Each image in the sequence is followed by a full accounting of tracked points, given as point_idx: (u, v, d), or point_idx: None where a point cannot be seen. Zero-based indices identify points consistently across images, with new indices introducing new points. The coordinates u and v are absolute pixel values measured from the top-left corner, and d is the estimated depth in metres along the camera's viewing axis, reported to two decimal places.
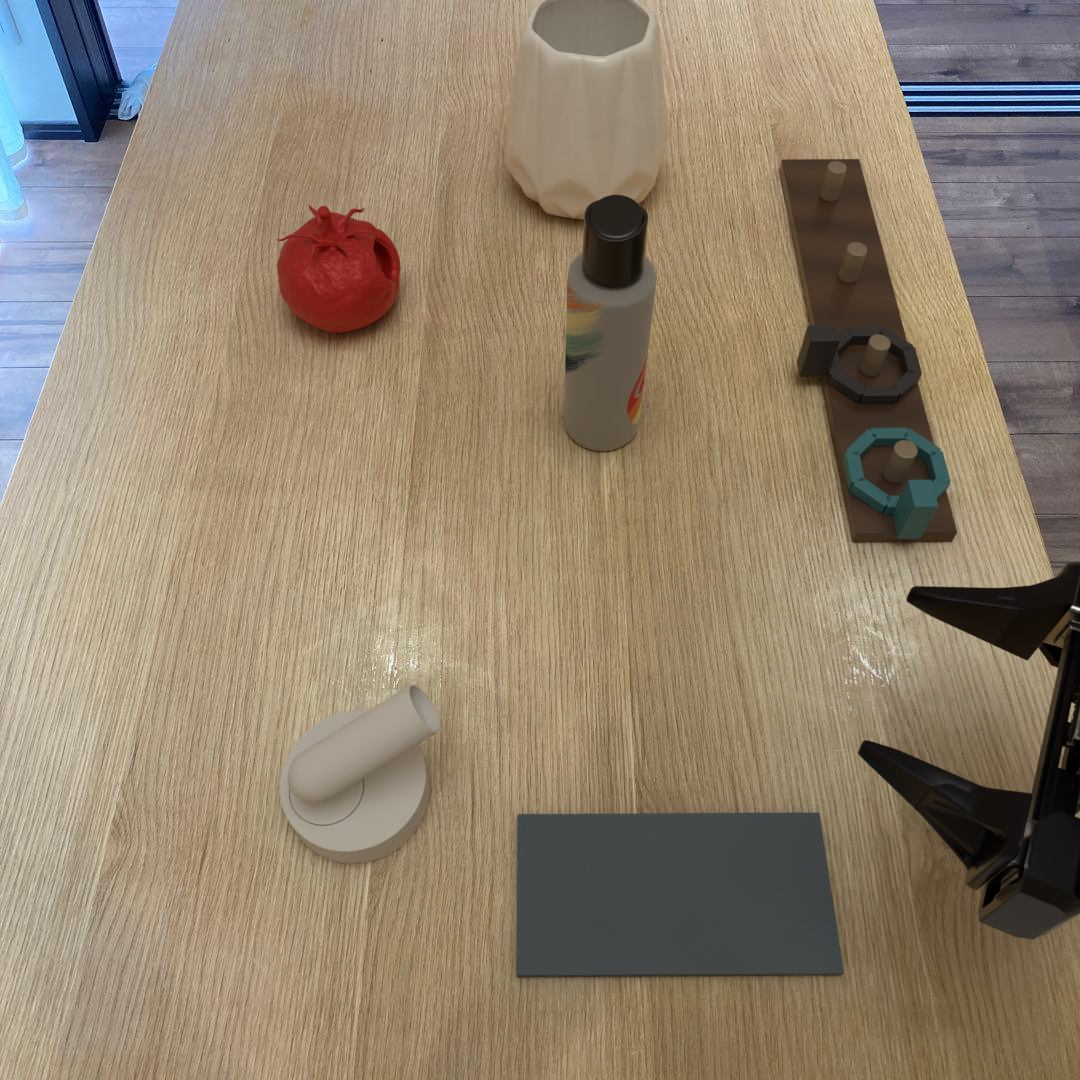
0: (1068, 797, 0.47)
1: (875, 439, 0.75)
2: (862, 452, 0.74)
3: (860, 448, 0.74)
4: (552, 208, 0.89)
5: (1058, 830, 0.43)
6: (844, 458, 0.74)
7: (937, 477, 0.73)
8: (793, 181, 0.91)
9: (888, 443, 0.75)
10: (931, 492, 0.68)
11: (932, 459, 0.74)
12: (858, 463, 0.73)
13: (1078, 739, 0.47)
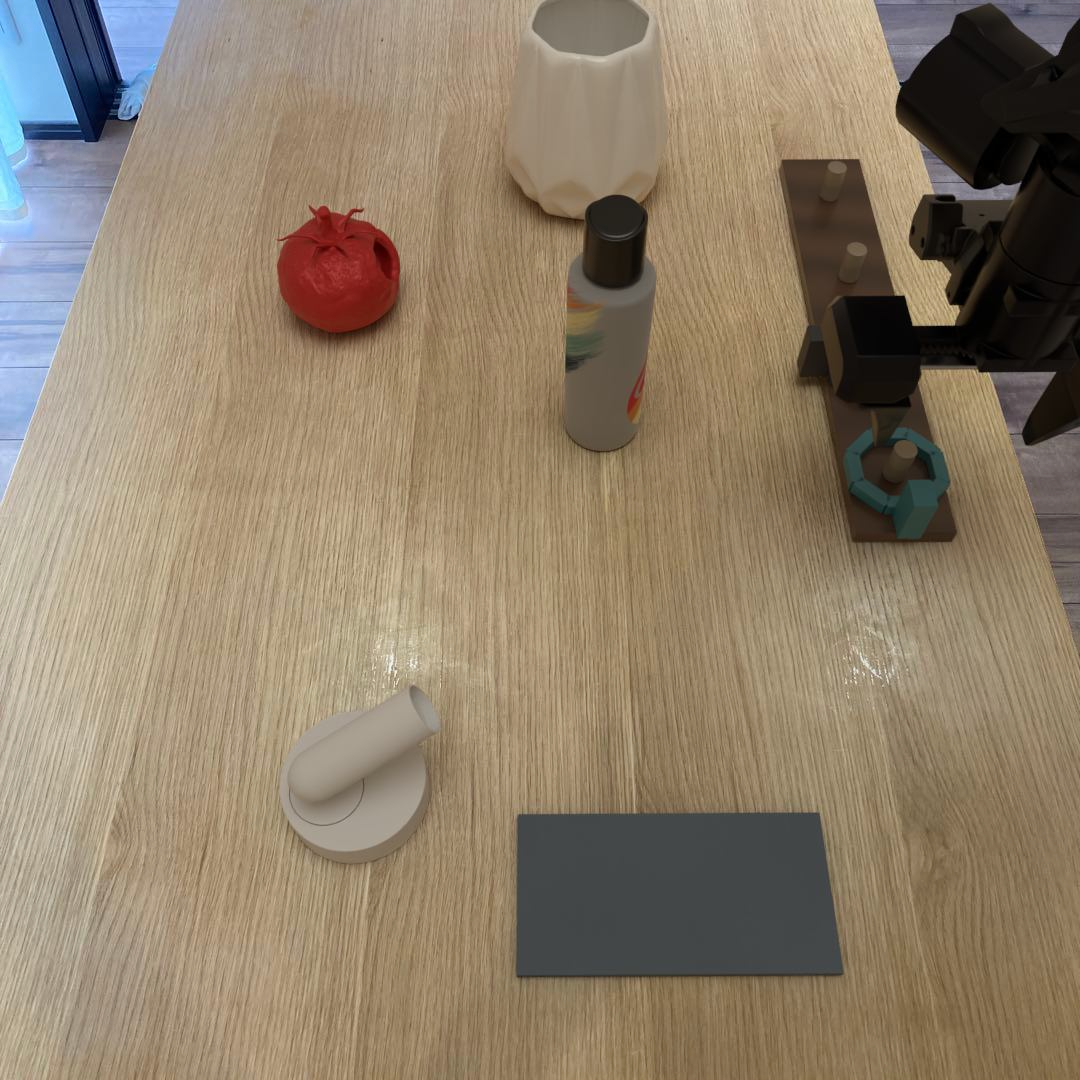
0: None
1: None
2: (862, 452, 0.74)
3: (860, 448, 0.74)
4: (552, 208, 0.89)
5: None
6: (844, 458, 0.74)
7: (937, 477, 0.73)
8: (793, 181, 0.91)
9: (888, 443, 0.75)
10: (931, 492, 0.68)
11: (932, 459, 0.74)
12: (858, 463, 0.73)
13: None
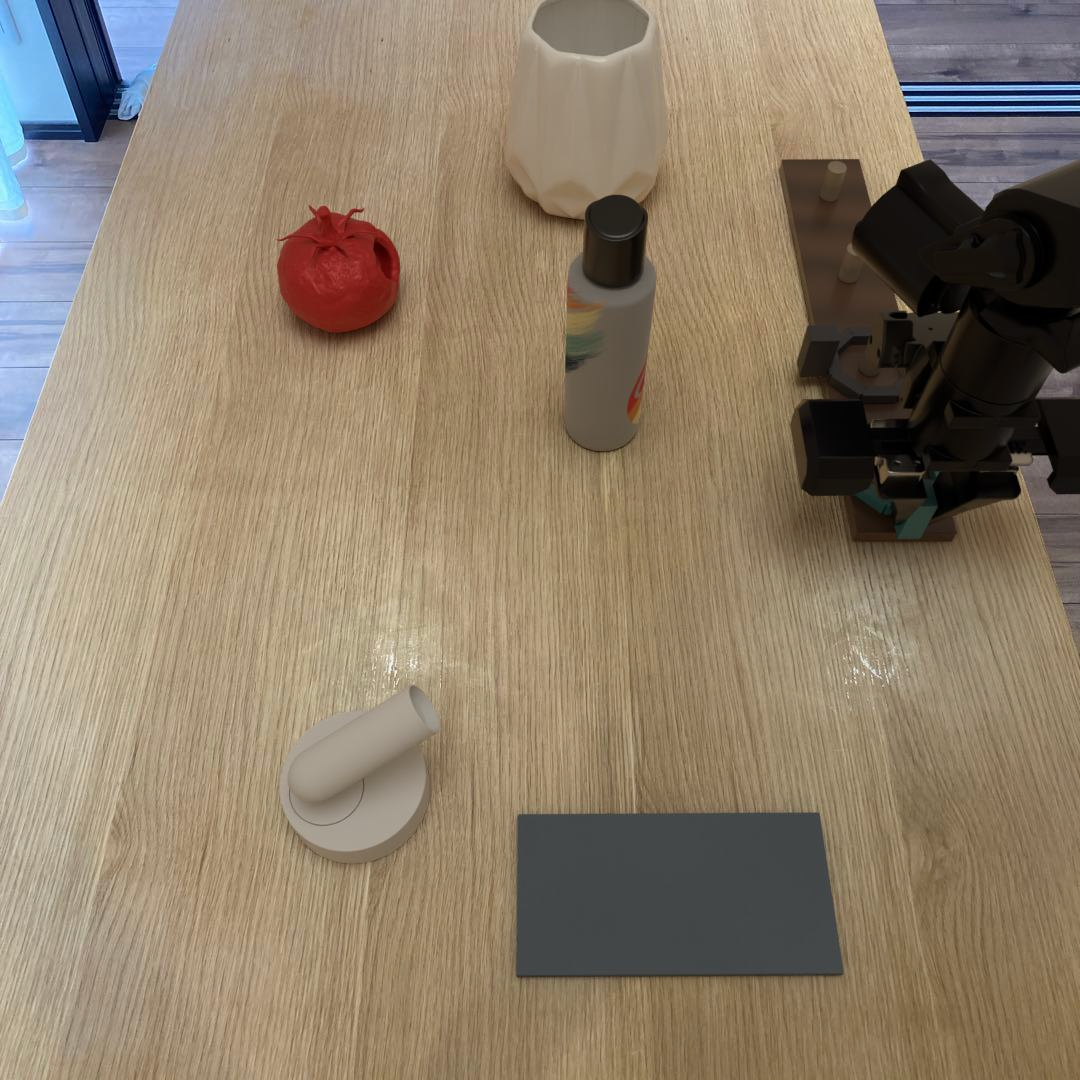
0: None
1: None
2: None
3: None
4: (552, 208, 0.89)
5: None
6: None
7: None
8: (793, 181, 0.91)
9: None
10: (931, 492, 0.68)
11: None
12: None
13: (871, 421, 0.65)
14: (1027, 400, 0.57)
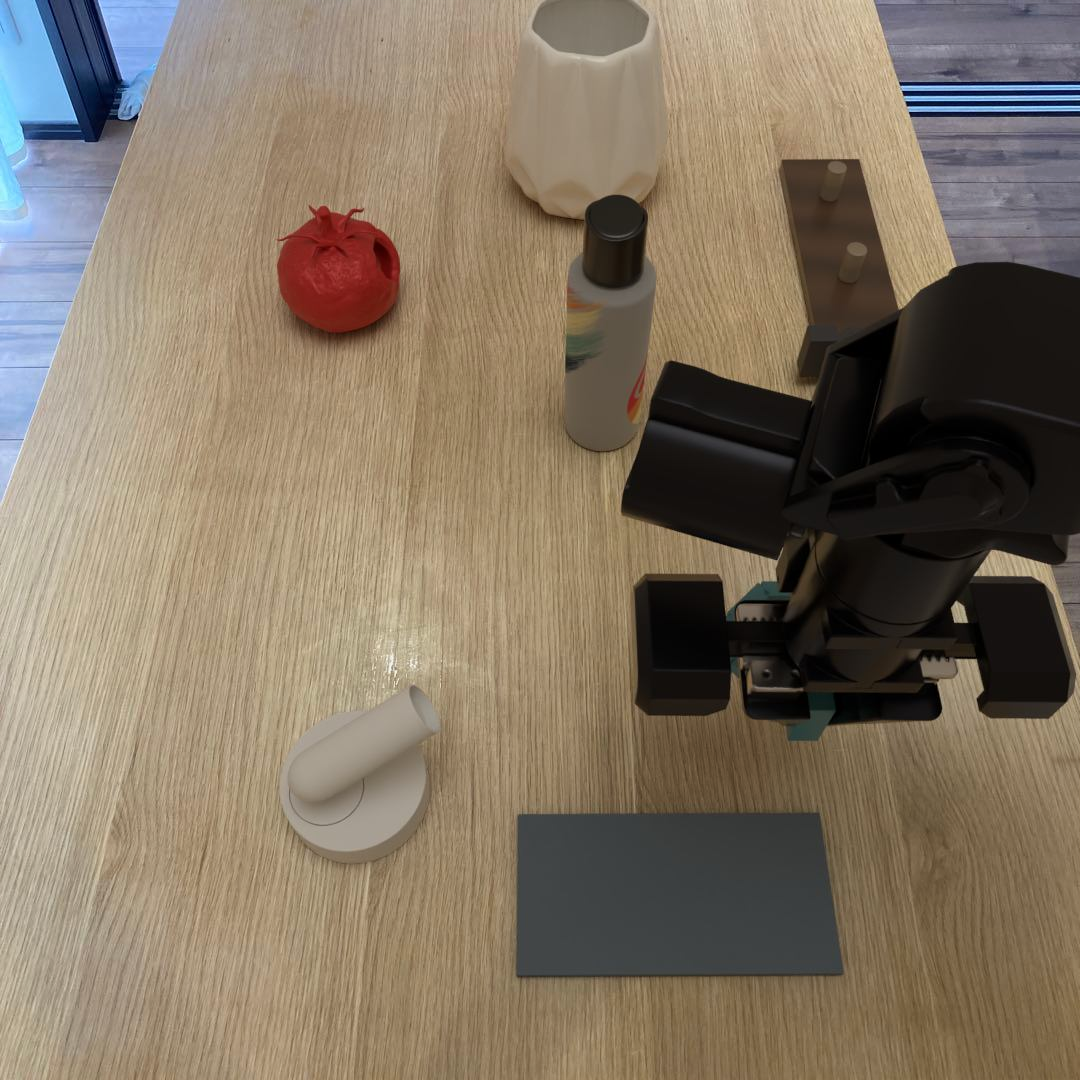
0: None
1: (766, 598, 0.57)
2: None
3: None
4: (552, 208, 0.89)
5: None
6: None
7: None
8: (793, 181, 0.91)
9: None
10: None
11: None
12: None
13: (737, 607, 0.47)
14: (936, 618, 0.39)
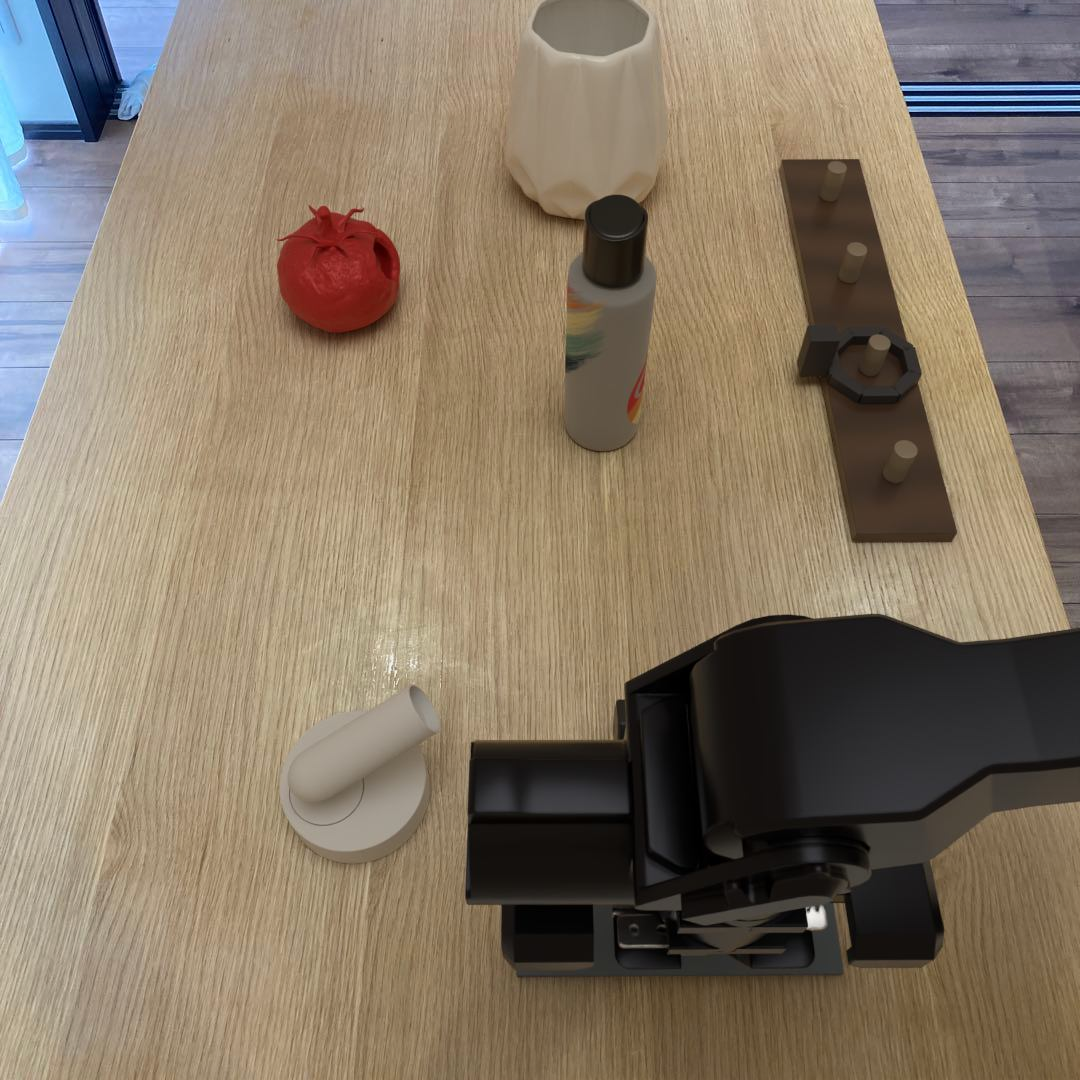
0: None
1: None
2: None
3: None
4: (552, 208, 0.89)
5: None
6: None
7: None
8: (793, 181, 0.91)
9: None
10: None
11: None
12: None
13: None
14: (784, 911, 0.38)
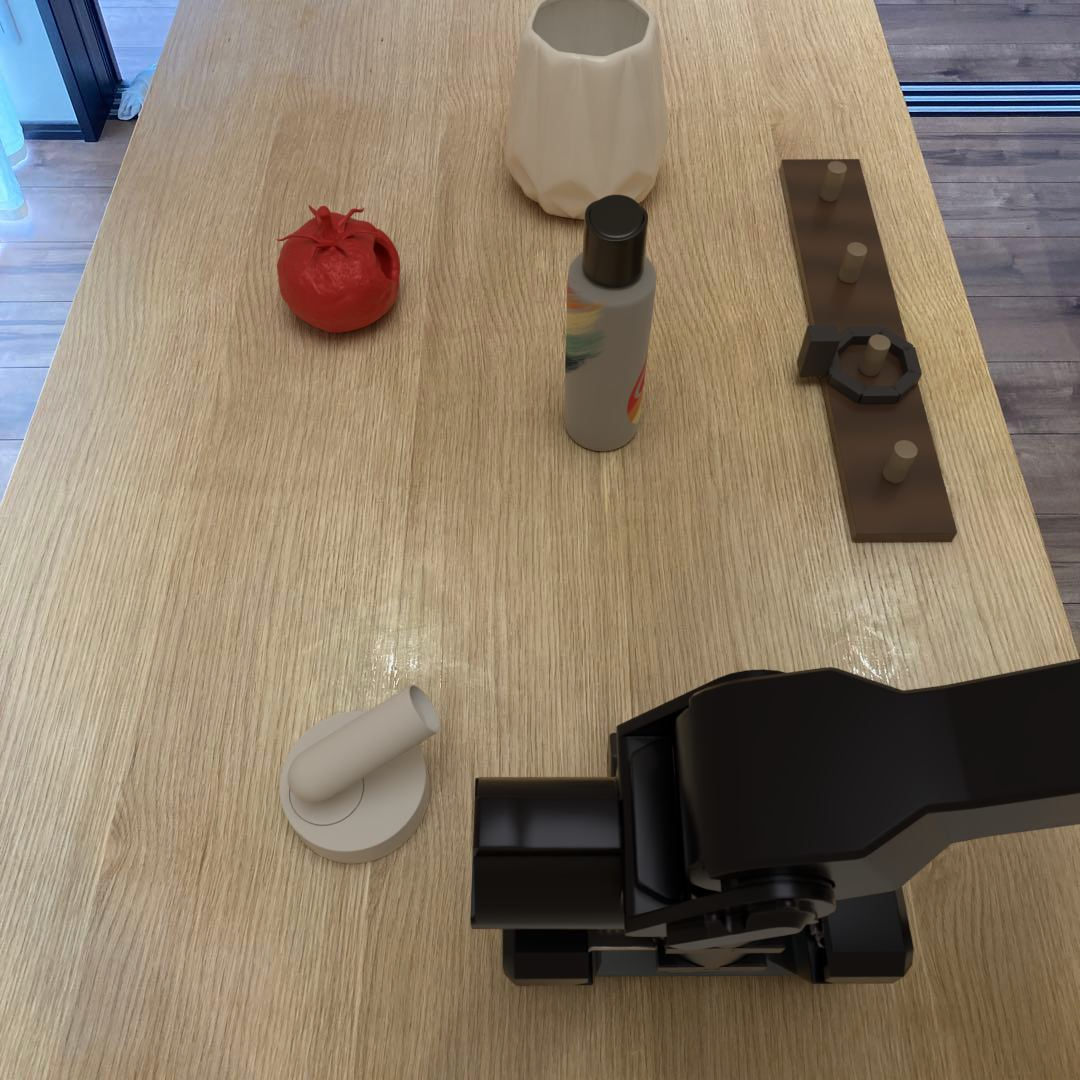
0: None
1: None
2: None
3: None
4: (552, 208, 0.89)
5: None
6: None
7: None
8: (793, 181, 0.91)
9: None
10: None
11: None
12: None
13: None
14: None
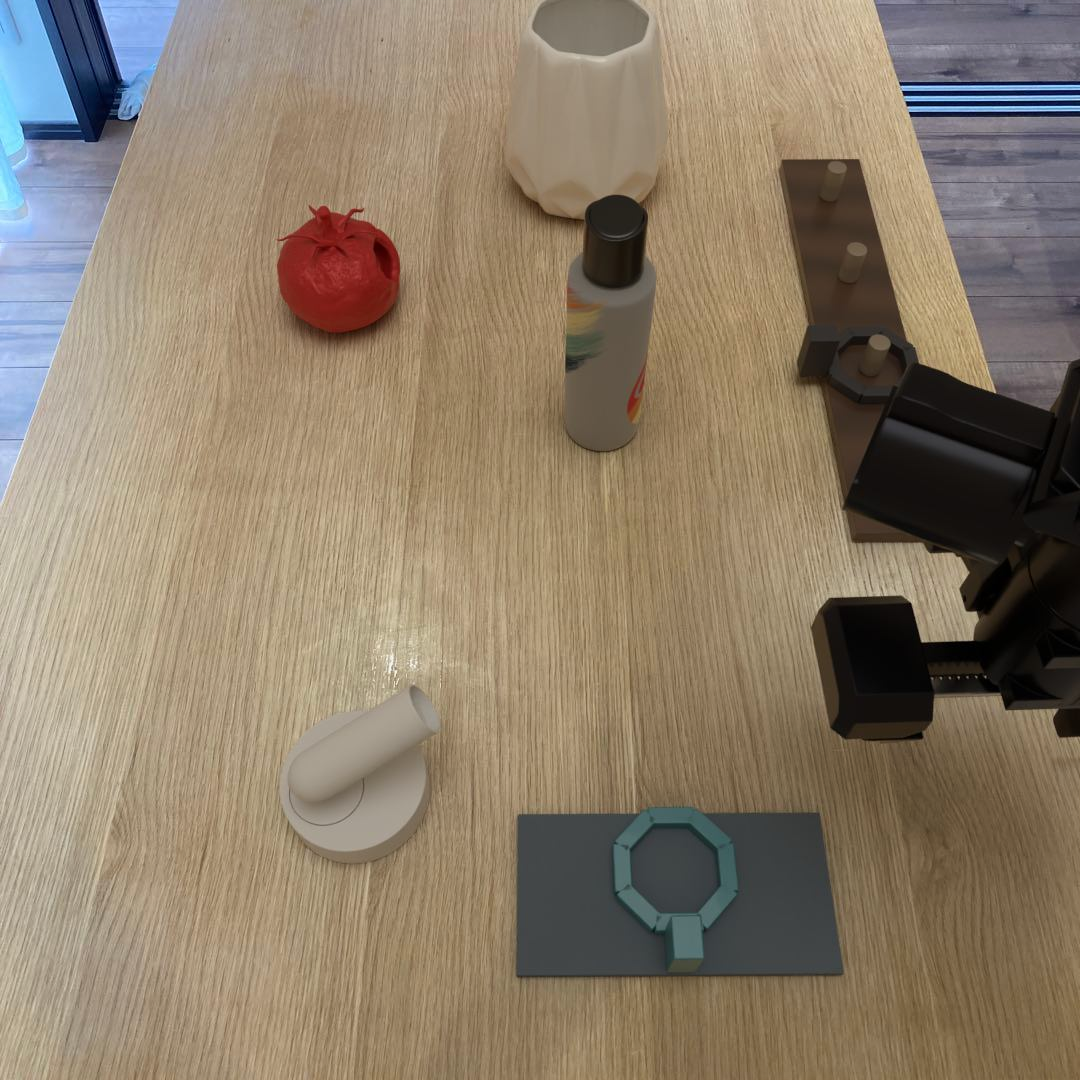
0: None
1: (651, 825, 0.60)
2: (634, 844, 0.60)
3: (632, 839, 0.60)
4: (552, 208, 0.89)
5: None
6: (612, 851, 0.60)
7: (722, 884, 0.58)
8: (793, 181, 0.91)
9: (670, 826, 0.61)
10: (698, 936, 0.54)
11: (719, 856, 0.59)
12: (626, 863, 0.59)
13: None
14: None
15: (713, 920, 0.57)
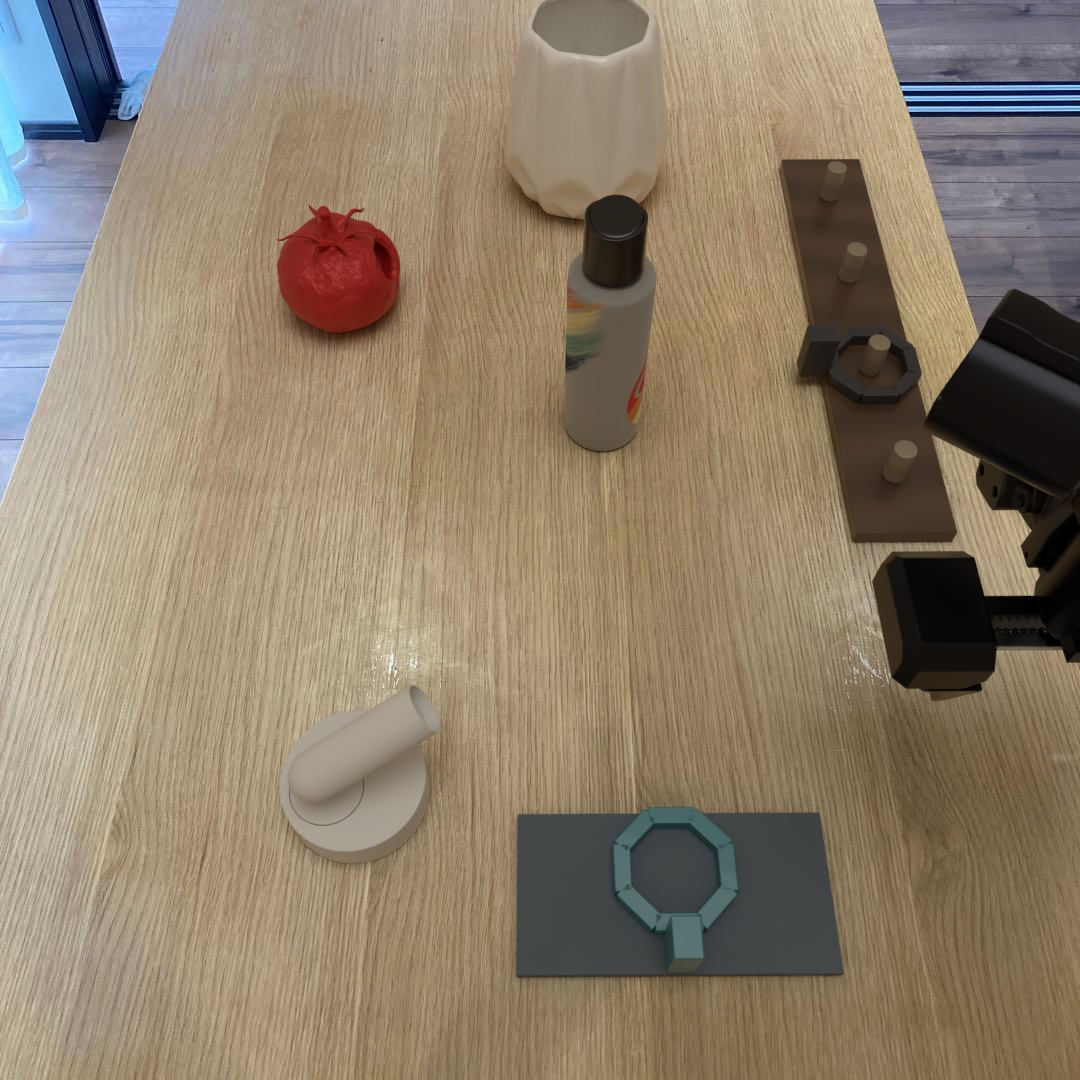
0: None
1: (651, 825, 0.60)
2: (634, 844, 0.60)
3: (632, 839, 0.60)
4: (552, 208, 0.89)
5: None
6: (612, 851, 0.60)
7: (722, 884, 0.58)
8: (793, 181, 0.91)
9: (670, 826, 0.61)
10: (698, 936, 0.54)
11: (719, 856, 0.59)
12: (626, 863, 0.59)
13: None
14: None
15: (713, 920, 0.57)
